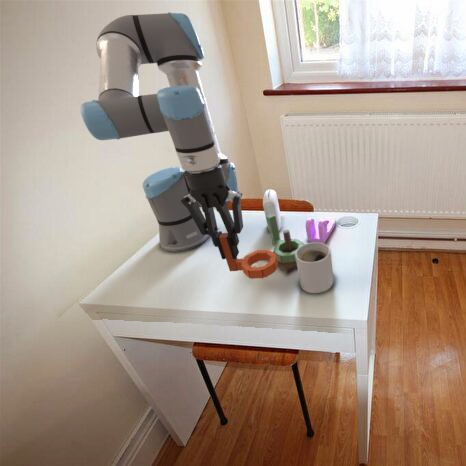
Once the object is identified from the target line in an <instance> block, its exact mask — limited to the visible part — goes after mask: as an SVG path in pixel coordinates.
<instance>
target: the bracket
mask: <svg viewBox="0 0 466 466" xmlns="http://www.w3.org/2000/svg"><path fill="white" fill-rule="evenodd" d="M335 227H336V222H335V219H334V218H333V217H324V218H321V219H319V220H318V222H317V223H316V224H315V219H314V218H307V219H306V221H305V232H306V238H307V242H310V243H312V242H319V243H323V244H325V243H326V240H328V238H329V236H330V235H331V233H332V232H333V230H334V228H335Z"/></svg>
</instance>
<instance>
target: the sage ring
mask: <svg viewBox="0 0 466 466" xmlns="http://www.w3.org/2000/svg"><path fill="white" fill-rule="evenodd" d="M266 219H267V221H266V224H268V225H267V229H268V228H269V229H268V231H269V236H270V240H271V244H272V246H273V247H274V248H273V251H272V252H274V253H275V254H276V256H277V260H278V261H280V262H281V263H292V262H293V261H294V262H295V261H296V257H295V253H296V251H297V249H298V248H299V247H301V246H302V245H304V242H303V241H301V240H300V239H298V238H291V242H292V247H293V248H296V250H295V251H293V252H290V253H283V252H282V251H284V250H286V245H285V240H284V239H281V237H280V232H279V231H280V230H279V231H278V226H277V222H276V217H275V215H273V214H269V215H267V216H265V220H266Z"/></svg>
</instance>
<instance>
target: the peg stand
mask: <svg viewBox="0 0 466 466" xmlns="http://www.w3.org/2000/svg"><path fill="white" fill-rule="evenodd" d="M282 234H283V240H285V245H286V250H284V251H282V252H283V253H290V252H293V251H295V250H296V248H293V247H292V242H291V239H292V238H291V232H290V230H289V229H284V230H283V231H282ZM272 252H273V253H274V251H272ZM277 268H279V269H281V271H283V272H285V273H286V274H289V273H291V272H292V271H294V270H296V269H298V268H297V263H296V261H295V262H294V261H293V262H292V263H281V262H280V261H278V266H277Z"/></svg>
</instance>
